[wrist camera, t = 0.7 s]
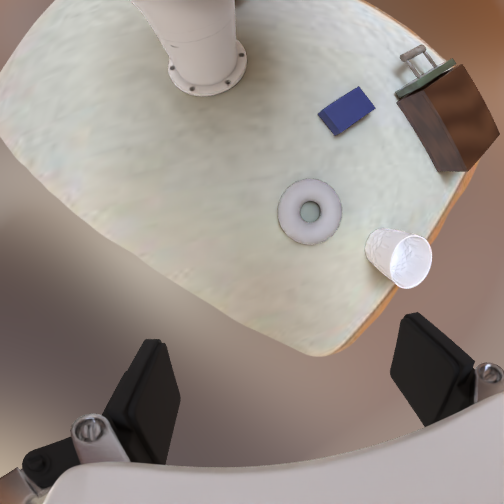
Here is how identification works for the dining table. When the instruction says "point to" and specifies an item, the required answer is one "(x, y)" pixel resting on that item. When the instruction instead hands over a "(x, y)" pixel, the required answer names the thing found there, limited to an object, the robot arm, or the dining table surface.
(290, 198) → the donut
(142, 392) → the robot arm
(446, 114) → the cabinet
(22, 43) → the dining table surface
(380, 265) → the white cup
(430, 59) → the drawer
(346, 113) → the tall navy block
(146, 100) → the dining table surface
